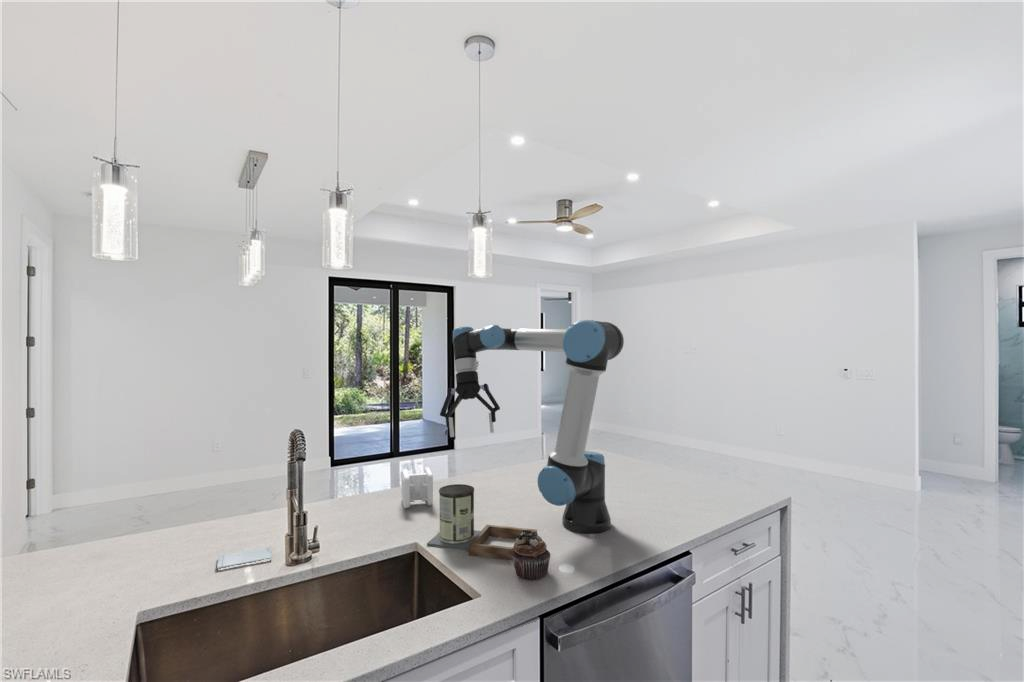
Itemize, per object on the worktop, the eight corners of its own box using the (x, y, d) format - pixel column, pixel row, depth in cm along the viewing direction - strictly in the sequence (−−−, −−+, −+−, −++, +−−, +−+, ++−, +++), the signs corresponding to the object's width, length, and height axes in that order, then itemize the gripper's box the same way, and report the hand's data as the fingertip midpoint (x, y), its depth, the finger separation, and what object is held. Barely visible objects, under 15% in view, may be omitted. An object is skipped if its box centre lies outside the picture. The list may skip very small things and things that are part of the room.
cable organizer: (433, 508, 169) (433, 475, 169) (402, 511, 166) (402, 477, 167) (428, 496, 184) (428, 465, 184) (400, 498, 181) (400, 467, 181)
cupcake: (548, 583, 114) (548, 541, 115) (508, 580, 116) (508, 538, 116) (552, 566, 124) (552, 526, 124) (515, 563, 126) (515, 524, 126)
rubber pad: (485, 533, 146) (485, 531, 146) (469, 550, 134) (469, 548, 134) (445, 529, 150) (445, 527, 150) (427, 545, 137) (427, 543, 137)
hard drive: (270, 546, 134) (218, 554, 128) (271, 557, 127) (216, 566, 121) (270, 552, 134) (218, 561, 128) (271, 563, 127) (216, 573, 121)
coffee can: (454, 528, 149) (454, 482, 149) (481, 535, 143) (481, 487, 143) (431, 539, 140) (431, 490, 140) (459, 547, 134) (459, 496, 135)
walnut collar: (536, 540, 141) (536, 529, 141) (523, 562, 126) (523, 550, 126) (487, 534, 145) (486, 524, 145) (468, 555, 130) (468, 544, 130)
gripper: (503, 369, 168) (510, 430, 164) (434, 377, 170) (438, 438, 166) (500, 366, 161) (507, 430, 157) (428, 375, 163) (432, 438, 159)
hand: (472, 434), depth 161 cm, fingers open, 13 cm apart
